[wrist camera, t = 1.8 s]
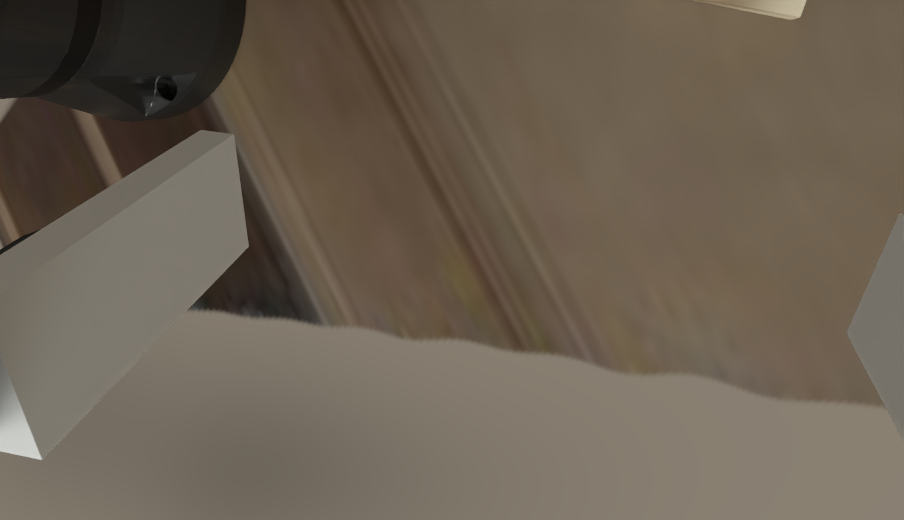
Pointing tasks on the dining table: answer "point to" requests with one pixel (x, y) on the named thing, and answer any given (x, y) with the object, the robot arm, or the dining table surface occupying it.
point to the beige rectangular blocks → (764, 6)
